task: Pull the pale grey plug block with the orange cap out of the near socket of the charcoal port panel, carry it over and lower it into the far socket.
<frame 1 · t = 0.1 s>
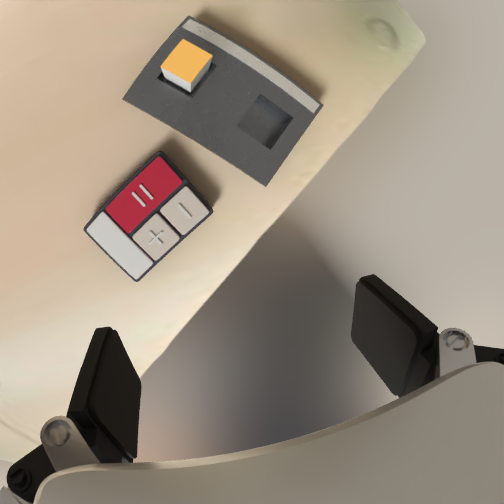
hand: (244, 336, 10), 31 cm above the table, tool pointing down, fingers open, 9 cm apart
plug: (187, 76, 31), resting on port panel
port panel: (223, 99, 34), on the table
calculator: (148, 213, 38), on the table
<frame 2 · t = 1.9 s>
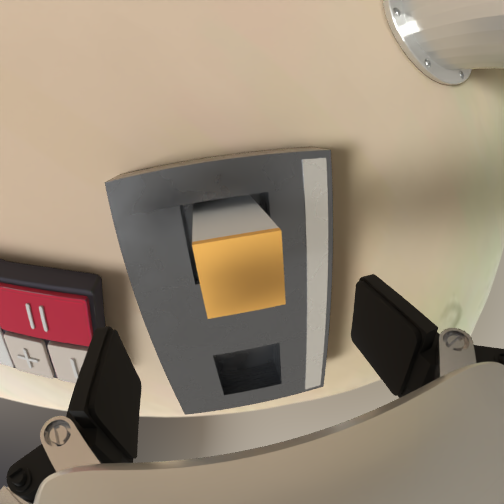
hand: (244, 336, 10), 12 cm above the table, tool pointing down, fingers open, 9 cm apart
plug: (225, 225, 20), resting on port panel
port panel: (234, 292, 23), on the table
calculator: (40, 312, 21), on the table
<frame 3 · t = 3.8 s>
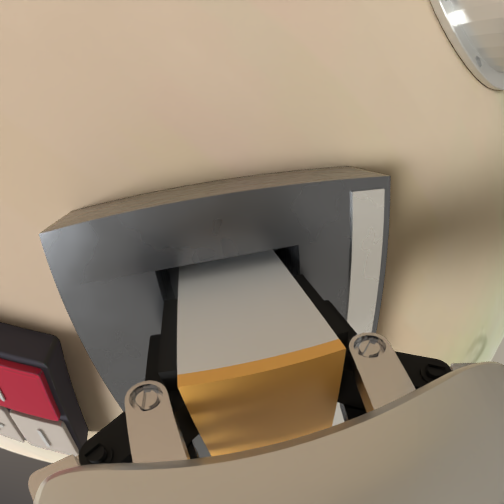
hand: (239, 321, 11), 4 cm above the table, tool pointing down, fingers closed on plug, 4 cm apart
plug: (228, 283, 14), point 1 cm above the table, touching gripper
port panel: (240, 362, 17), on the table
calculator: (1, 367, 14), on the table
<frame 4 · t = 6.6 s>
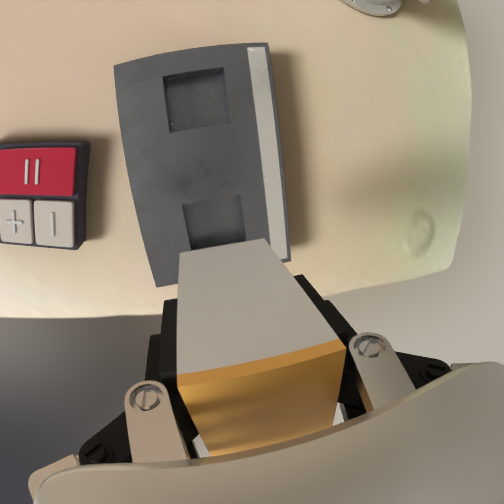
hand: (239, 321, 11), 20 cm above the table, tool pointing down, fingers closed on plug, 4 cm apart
plug: (228, 283, 14), point 17 cm above the table, touching gripper
port panel: (204, 161, 27), on the table
calculator: (34, 189, 24), on the table
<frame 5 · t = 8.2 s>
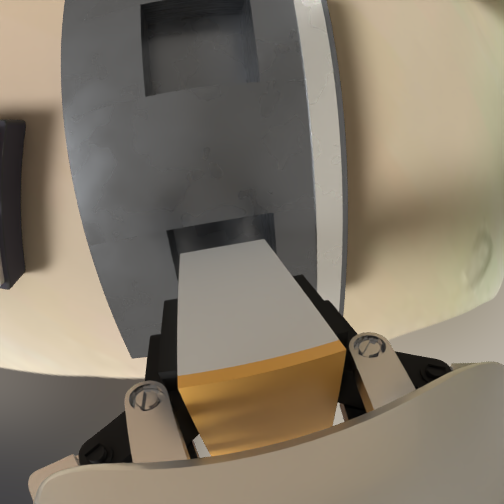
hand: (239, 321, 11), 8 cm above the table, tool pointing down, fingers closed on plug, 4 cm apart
plug: (228, 283, 14), point 5 cm above the table, touching gripper
port panel: (207, 151, 16), on the table
when the fingers open (5 cm above the table, at t = 9.5 s): plug drops 1 cm, resting on port panel.
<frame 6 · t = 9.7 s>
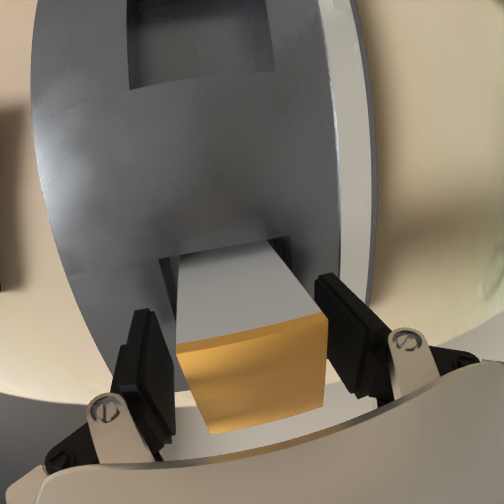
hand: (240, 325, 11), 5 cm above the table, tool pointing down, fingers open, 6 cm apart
plug: (226, 273, 15), point 1 cm above the table, touching port panel
port panel: (207, 158, 13), on the table
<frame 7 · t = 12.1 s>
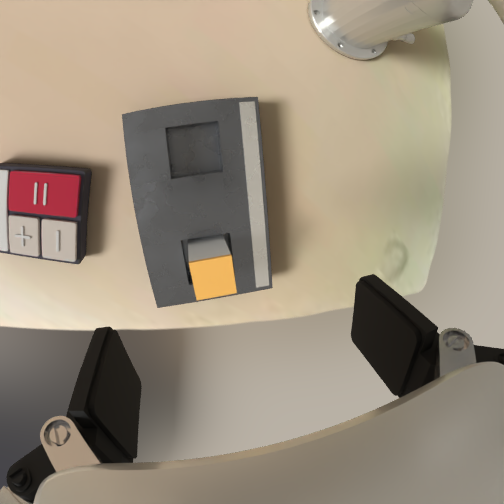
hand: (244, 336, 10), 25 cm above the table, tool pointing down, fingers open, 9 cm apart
plug: (206, 249, 34), resting on port panel
port panel: (199, 200, 32), on the table
calculator: (40, 207, 28), on the table
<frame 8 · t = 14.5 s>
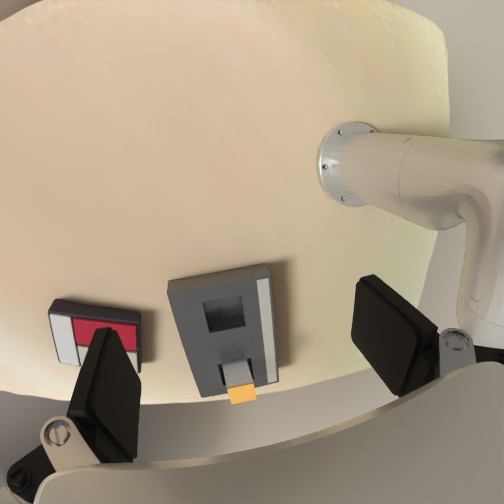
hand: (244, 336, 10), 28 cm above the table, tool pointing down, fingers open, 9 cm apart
plug: (233, 360, 46), resting on port panel
port panel: (227, 332, 44), on the table
calculator: (98, 331, 40), on the table
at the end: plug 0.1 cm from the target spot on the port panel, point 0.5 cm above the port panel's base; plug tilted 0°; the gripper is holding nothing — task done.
